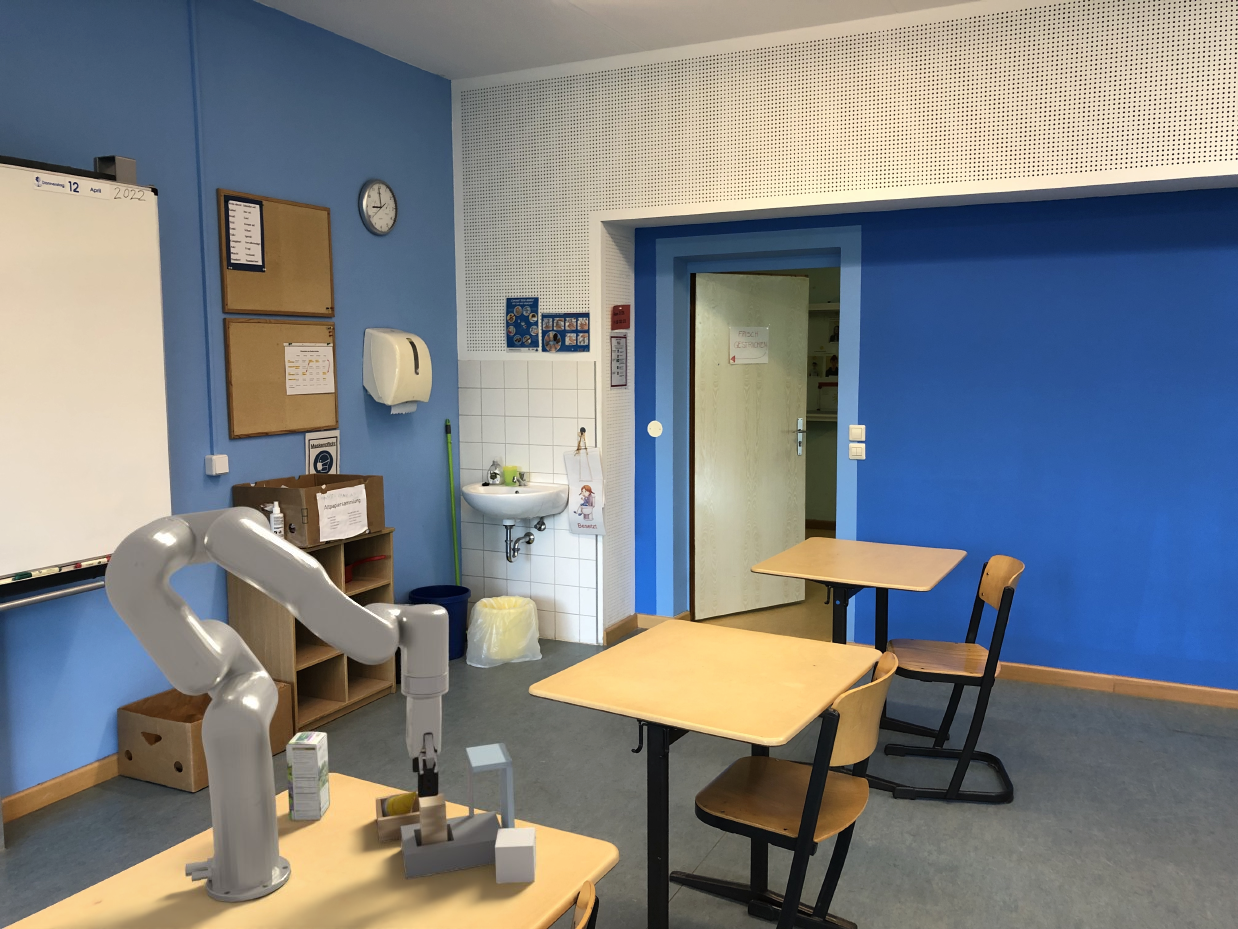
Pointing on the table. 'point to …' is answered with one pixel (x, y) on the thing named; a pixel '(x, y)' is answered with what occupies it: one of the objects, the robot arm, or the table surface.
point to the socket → (451, 846)
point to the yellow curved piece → (398, 804)
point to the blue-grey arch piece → (499, 759)
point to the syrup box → (308, 776)
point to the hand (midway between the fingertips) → (425, 783)
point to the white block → (515, 855)
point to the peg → (433, 820)
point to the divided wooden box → (394, 820)
